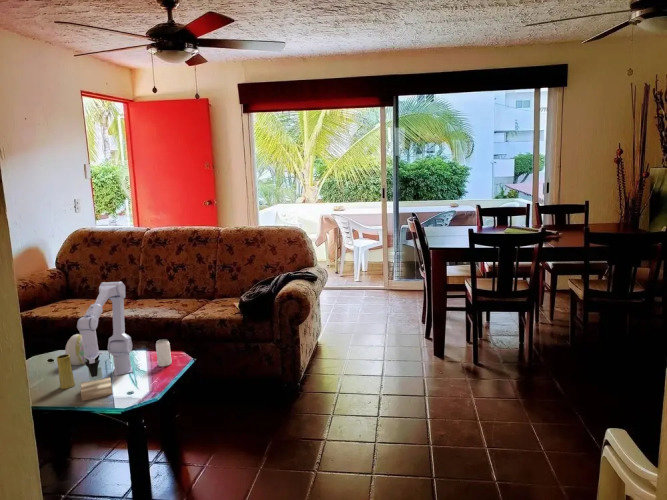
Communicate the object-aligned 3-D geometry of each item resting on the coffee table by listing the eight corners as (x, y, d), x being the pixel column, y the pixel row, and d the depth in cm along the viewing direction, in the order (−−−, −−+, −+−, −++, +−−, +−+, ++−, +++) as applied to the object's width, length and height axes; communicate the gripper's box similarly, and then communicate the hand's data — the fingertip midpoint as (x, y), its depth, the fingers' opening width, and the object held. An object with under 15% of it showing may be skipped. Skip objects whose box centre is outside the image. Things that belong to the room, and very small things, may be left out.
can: (167, 367, 253) (164, 343, 251) (155, 366, 254) (152, 343, 253) (174, 362, 259) (171, 338, 258) (162, 362, 261) (159, 338, 259)
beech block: (82, 391, 231) (81, 383, 230) (111, 385, 236) (110, 377, 235) (82, 401, 220) (80, 392, 220) (112, 395, 225) (111, 386, 224)
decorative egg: (86, 366, 262) (82, 337, 260) (62, 367, 262) (57, 339, 260) (97, 357, 274) (93, 330, 272) (74, 359, 274) (70, 331, 272)
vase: (63, 384, 240) (59, 354, 238) (77, 382, 241) (72, 353, 238) (57, 389, 234) (53, 359, 232) (71, 388, 235) (67, 357, 232)
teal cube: (89, 376, 228) (88, 365, 228) (102, 374, 230) (100, 363, 230) (89, 380, 224) (88, 369, 223) (102, 378, 226) (101, 367, 225)
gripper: (100, 347, 220) (104, 377, 222) (100, 337, 233) (104, 366, 235) (82, 350, 217) (86, 381, 219) (82, 341, 230) (87, 370, 232)
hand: (94, 374), depth 227 cm, fingers closed on teal cube, 5 cm apart
